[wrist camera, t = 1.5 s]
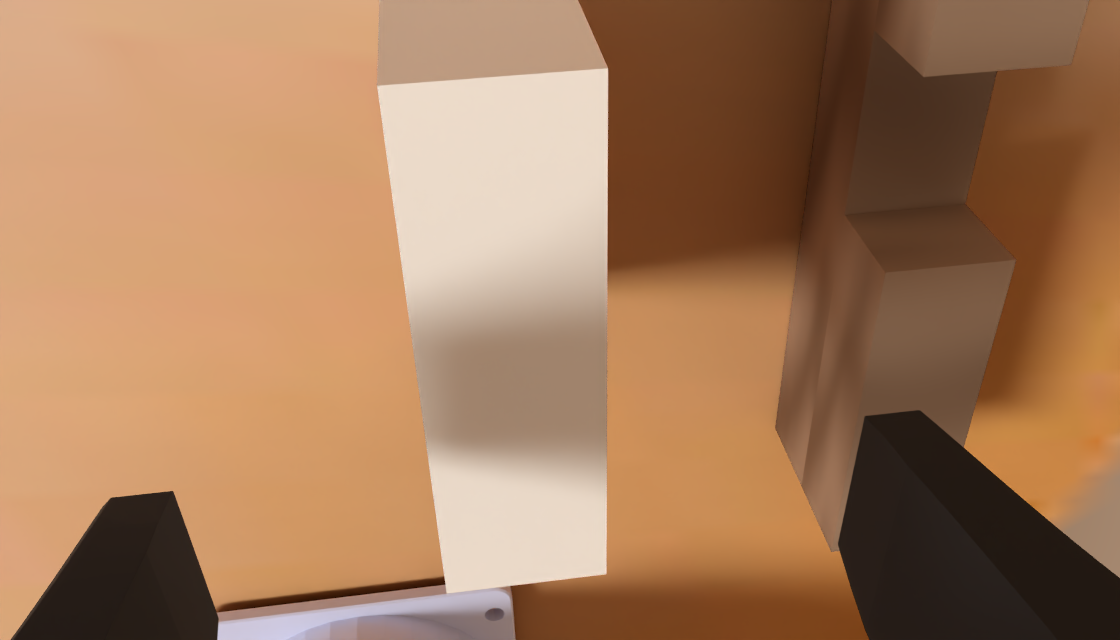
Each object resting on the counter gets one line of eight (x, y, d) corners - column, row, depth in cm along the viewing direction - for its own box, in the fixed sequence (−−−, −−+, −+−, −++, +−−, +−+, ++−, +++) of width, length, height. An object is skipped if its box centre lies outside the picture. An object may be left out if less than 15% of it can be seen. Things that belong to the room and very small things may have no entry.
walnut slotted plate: (869, 417, 26) (938, 538, 22) (775, 427, 25) (831, 551, 22) (1057, -512, 15) (1239, -535, 12) (899, -508, 15) (1040, -530, 12)
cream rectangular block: (542, 281, 22) (606, 573, 16) (429, 291, 22) (446, 593, 15) (526, -117, 17) (607, 67, 11) (381, -109, 17) (376, 86, 11)
